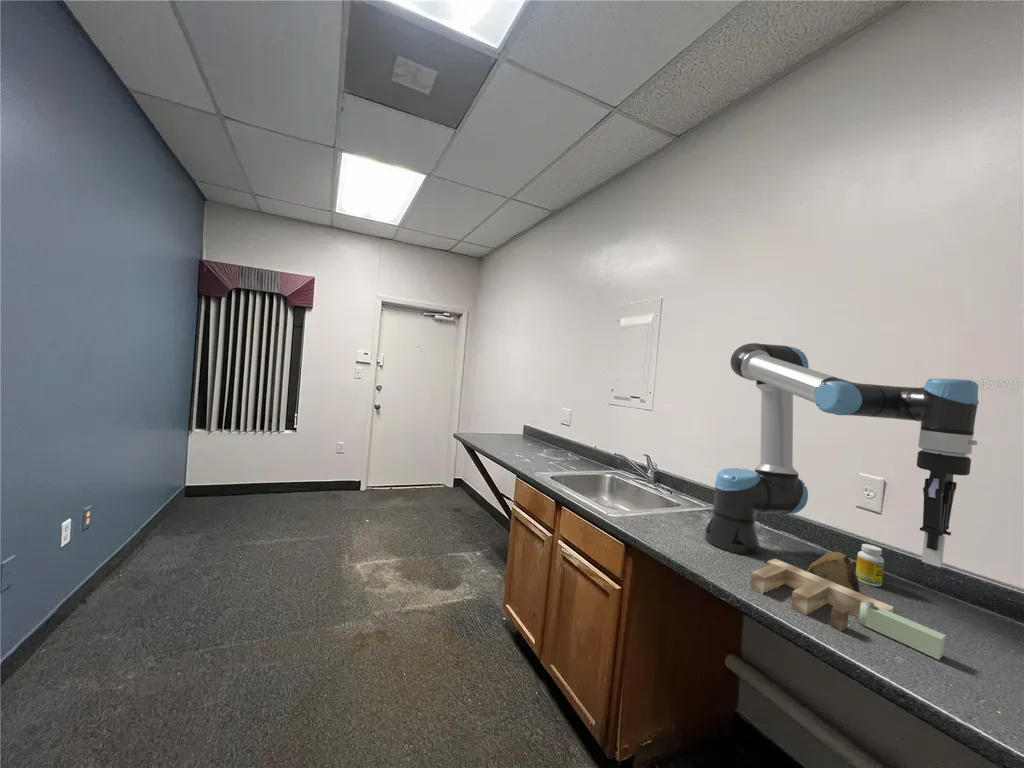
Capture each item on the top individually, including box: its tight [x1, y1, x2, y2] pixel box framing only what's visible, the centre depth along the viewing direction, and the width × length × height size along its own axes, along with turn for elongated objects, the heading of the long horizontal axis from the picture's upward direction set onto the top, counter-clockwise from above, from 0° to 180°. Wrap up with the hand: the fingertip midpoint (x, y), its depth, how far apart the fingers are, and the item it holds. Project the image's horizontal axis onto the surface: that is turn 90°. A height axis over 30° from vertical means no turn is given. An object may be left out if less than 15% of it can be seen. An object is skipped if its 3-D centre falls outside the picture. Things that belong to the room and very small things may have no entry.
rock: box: [806, 551, 862, 594], centre depth 103 cm, size 11×9×10 cm
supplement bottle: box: [855, 543, 885, 587], centre depth 106 cm, size 5×5×10 cm
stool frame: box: [749, 557, 895, 632], centre depth 93 cm, size 24×15×4 cm, turn 32°
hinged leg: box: [858, 601, 946, 661], centre depth 81 cm, size 12×3×5 cm, turn 32°
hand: (931, 563), depth 83 cm, fingers closed
